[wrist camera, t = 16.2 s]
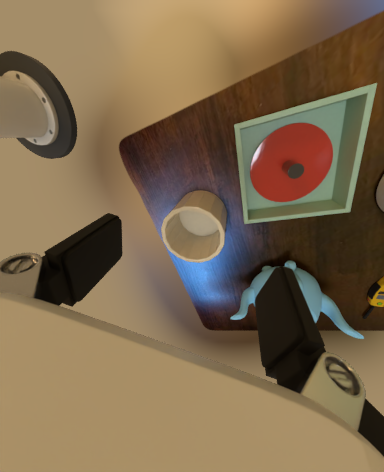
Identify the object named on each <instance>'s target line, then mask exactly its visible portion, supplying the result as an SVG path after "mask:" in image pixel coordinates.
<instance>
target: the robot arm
mask: <svg viewBox="0 0 384 472" xmlns="http://www.w3.org/2000/svg"><path fill="white" fill-rule="evenodd" d="M58 130H59V124H58V117H57V113H56V110H55V108H54V105H53V103H52V101H51V99H50V98H49V96H48V94H47V93H46V91H45V90H44V89H43V87H42V86H41V85H40V84H39V83H38V82H37V81H36V80H34V79H33V78H32V77H30V76H28V75H27V74H24V73H21V72H18V71H8V72H6V73H4V75H3V76H2V77H1V76H0V138H25V139H27V140H28V141H30V142H32V143H34V144H37V145H49V144H51V143H53V142H54V141H55V139H56V138H57V135H58ZM121 228H122V227H121V220H120V219H119V217H118V216H116V215H113V214H110V213H108V214H106V215H104V216H103V217H101V218H99V219H98V220H96V221H94V222H93V223H91V224H90V225H88V226H86V227H84V228H83V229H81V230H80V231H78V232H76V233H75V234H73V235H71V236H70V237H68V238H66V239H65V240H63V241H62V242H60V243H58V244H57V245H55V246H53V247H52V248H50V249H48V250H47V251H45V256H43V257H41V256H40V255H38V254H35V253H21V254H16V255H13V256H10V257H8V258H6V259H4V260H3V261H1V262H0V472H384V416H383V415H382V414H380V412H379V411H378V410H376V408H375V407H373V406H372V405H371V404H370V403H369V402H368V401H367V400H366V399H365V397H366V393H365V388H364V385H363V383H362V381H361V379H360V377H359V375H358V374H357V373H356V371H355V370H354V369H353V368H352V367H351V366H350V365H349V364H348V363H347V362H346V361H345V360H344V359H342V358H341V357H339V356H338V355H336V354H334V353H330V352H326V351H325V348H324V346H325V345H324V342H323V340H322V338H321V335H320V333H319V330H318V328H317V326H316V323H315V321H314V319H313V316H312V314H311V312H310V309H309V307H308V304H307V302H306V300H305V297H304V295H303V293H302V290H301V288H300V286H299V283H298V281H297V278H296V276H295V274H294V271H293V270H292V269H290V268H287V267H284V266H280V267H279V268H278V267H276V268H275V269H274V270H273V272H272V273H271V275H270V276H269V278H268V279H267V281H266V282H265V284H264V285H263V287H262V288H261V290H260V291H259V293H258V294H257V296H256V298H255V308H256V317H257V326H258V335H259V344H260V352H261V361H262V365H263V367H265V370H266V376H269V377H271V378H274V379H277V384H278V385H277V384H275V383H272V382H269V381H267V380H264V379H261V378H259V377H256V376H254V375H251V374H249V373H246V372H243V371H240V370H238V369H235V368H232V367H229V366H226V365H224V364H221V363H219V362H216V361H213V360H210V359H208V358H204V357H202V356H199V355H196V354H194V353H191V352H188V351H185V350H183V349H180V348H177V347H174V346H172V345H169V344H166V343H163V342H160V341H158V340H155V339H152V338H149V337H146V336H144V335H141V334H137V333H135V332H132V331H130V330H127V329H124V328H121V327H118V326H115V325H113V324H110V323H107V322H104V321H101V320H98V319H95V318H92V317H90V316H87V315H84V314H81V313H78V312H75V311H73V310H70V309H67V308H64V307H61V306H59V305H60V304H61V303H62V302H63V303H64V304H66V305H69V306H73V305H74V304H75V303H76V302H77V301H78V302H79V301H81V300H82V299H83V298H84V297H85V296H86V295H87V294H88V293H89V292H90V290H91V289H92V288H93V287H94V286H95V285H96V284H97V283H98V282H99V281H100V280H101V279H102V278H103V277H104V275H105V274H106V273H107V272H108V271H109V270H110V269H111V268H112V267H113V266H114V265H115V264H116V263H117V262H118V260H119V259H120V258H121V256H122V229H121Z"/></svg>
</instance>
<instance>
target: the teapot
mask: <svg viewBox="0 0 384 472" xmlns="http://www.w3.org/2000/svg"><path fill="white" fill-rule="evenodd" d="M277 267H278V268H279V267H280V266H277ZM284 267H287V268H290V269H292V270H293V271H294V274H295V276H296V278H297V281H298V283H299V286H300V288H301V290H302V293H303V295H304V297H305V300H306V302H307V304H308V307H309V309H310V312H311V314H312V316H313V319H314V321H315V323H316V322H317V320H318V317H319V314H320V311H322V312H323V313H325V314H326V315H328V316H329V317H330V318H331V320H332V321H333V322H334V323H335V324H336V326H337V327H338V328H339V329H340V330H342V331H343V332H344V333H346V334H348V335H350V336H352V337H355V338H359V339H363V338H364V337H363V336H362V335H361V334H360V333H358V332H357V331H355V330H354V329H352V328H351V327H350V326H349V325H348V324H347V323H346V321H345V320H344V318H343V317H342V315H341V313H340V311H339V309H338V307H337V306H336V304H335V303H334V302H333V301H332V299H330V298H329V297H328V296H326V295H325V294H323V293H321V290H320V287H319V284H318V282H317V281H316V279H315V278H314V277H313V276H312V275H310V274H309V273H307V272H306V271H304V270H301V269H300V268H296V263H295V262H294V261H287V262H286V263H285V266H284ZM275 268H276V267H271V266H264V267H263V268H262V272H261V273H259V274H258V275H257V276H256V277H255V278H254V279H253V281H252V283H251V286H250V287H249V288H247V289H246V290H245V291H244V292H243V294H242V298H241V306H240V310H239V311H238V313H237V314H235V315H233V316H232V317H231V319H233V320H237V319H242V318H244V317H245V316H246V314H247V310H248V306H249V304H251V303H254V306H255V298H256V296H257V294H258V293H259V291H260V290H261V288H262V287H263V285H264V284H265V282H266V281H267V279H268V278H269V276H270V275H271V273H272V272H273V270H274V269H275Z"/></svg>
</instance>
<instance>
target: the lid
mask: <svg viewBox="0 0 384 472" xmlns="http://www.w3.org/2000/svg"><path fill="white" fill-rule="evenodd" d="M332 160H333V147H332V143H331V140H330V138H329V137H328V135H327V134H326V133H325V131H323V130H322V129H321V128H319V127H318V126H316V125H313V124H309V123H293V124H289V125H286V126H283V127H281V128H279V129H277V130H275V131H274V132H272V133H271V134H269V135H268V136H267V137H266V138H265V139H264V140H263V141H262V142H261V143H260V145H259V146H258V147H257V149H256V151H255V153H254V155H253V157H252V160H251V165H250V178H251V182H252V185H253V187H254V188H255V190H256V191H257V192H258V193H259V194H260V195H261V196H262V197H264V198H266V199H268V200H270V201H274V202H289V201H294V200H297V199H300V198H302V197H304V196H306V195H307V194H309V193H311V192H312V191H313V190H314V189H316V188H317V187H318V186H319V185H320V184H321V182H322V181H323V180H324V178H325V177H326V175H327V174H328V172H329V169H330V167H331V164H332Z"/></svg>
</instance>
